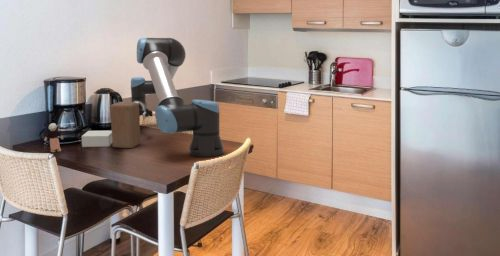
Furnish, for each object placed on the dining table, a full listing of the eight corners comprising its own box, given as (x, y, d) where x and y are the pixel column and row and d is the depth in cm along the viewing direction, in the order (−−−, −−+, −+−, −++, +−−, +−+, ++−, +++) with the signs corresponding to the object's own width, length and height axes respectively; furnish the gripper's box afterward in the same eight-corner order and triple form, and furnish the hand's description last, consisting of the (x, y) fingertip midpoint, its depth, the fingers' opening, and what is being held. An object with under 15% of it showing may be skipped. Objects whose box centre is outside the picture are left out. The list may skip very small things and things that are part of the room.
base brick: (108, 146, 207) (108, 136, 206) (82, 146, 206) (81, 136, 205) (114, 140, 219) (113, 130, 218) (88, 140, 218) (88, 130, 217)
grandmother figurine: (61, 149, 202) (59, 121, 200) (65, 150, 200) (62, 122, 197) (44, 152, 197) (41, 123, 194) (47, 153, 194) (44, 125, 192)
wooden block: (132, 149, 203) (129, 105, 199) (111, 147, 205) (109, 104, 201) (141, 143, 213) (139, 102, 208) (122, 142, 215) (119, 101, 210)
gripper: (160, 115, 239) (155, 124, 218) (112, 116, 236) (103, 124, 216) (159, 102, 237) (155, 109, 216) (111, 102, 235) (102, 109, 214)
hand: (129, 116), depth 216 cm, fingers open, 13 cm apart
